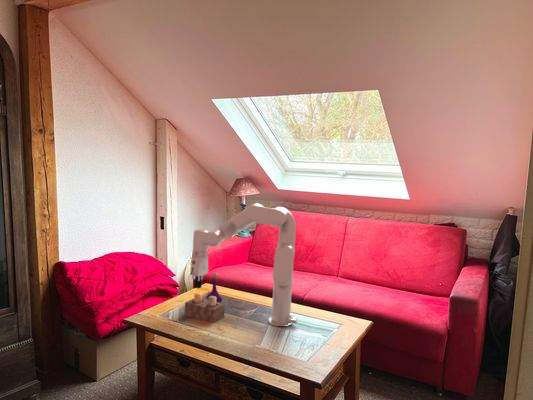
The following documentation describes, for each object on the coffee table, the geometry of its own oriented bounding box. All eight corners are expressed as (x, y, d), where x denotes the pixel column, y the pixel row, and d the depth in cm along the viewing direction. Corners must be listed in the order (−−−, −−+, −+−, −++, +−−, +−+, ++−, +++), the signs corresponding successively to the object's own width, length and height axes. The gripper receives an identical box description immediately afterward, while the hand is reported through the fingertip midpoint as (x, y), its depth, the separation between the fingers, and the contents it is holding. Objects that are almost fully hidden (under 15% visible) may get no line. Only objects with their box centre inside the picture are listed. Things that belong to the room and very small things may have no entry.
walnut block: (224, 316, 211) (224, 303, 211) (213, 323, 202) (214, 309, 202) (196, 309, 219) (196, 297, 219) (184, 315, 210) (185, 302, 210)
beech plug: (217, 310, 209) (218, 297, 209) (213, 312, 206) (213, 299, 205) (210, 308, 211) (211, 295, 211) (206, 310, 208) (207, 297, 207)
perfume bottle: (205, 302, 231) (207, 271, 230) (218, 301, 235) (219, 270, 233) (209, 306, 225) (211, 275, 223) (222, 305, 228) (223, 274, 226)
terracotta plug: (203, 306, 213) (203, 293, 213) (198, 308, 210) (199, 295, 209) (196, 305, 215) (197, 292, 214) (192, 307, 212) (192, 294, 211)
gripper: (197, 257, 201) (195, 292, 203) (213, 252, 215) (211, 285, 217) (185, 254, 205) (183, 289, 206) (202, 249, 218) (200, 282, 220)
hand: (197, 287), depth 212 cm, fingers closed
